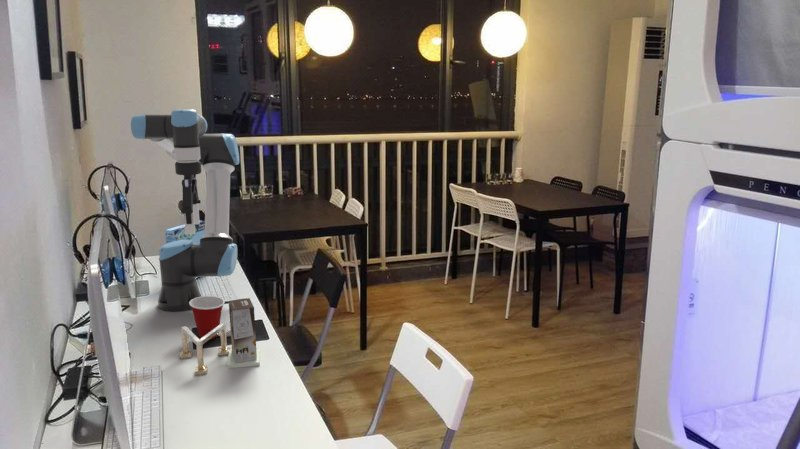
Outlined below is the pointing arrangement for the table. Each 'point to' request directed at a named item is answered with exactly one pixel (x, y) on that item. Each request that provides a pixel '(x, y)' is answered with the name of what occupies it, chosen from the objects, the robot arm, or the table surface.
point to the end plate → (232, 363)
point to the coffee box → (242, 330)
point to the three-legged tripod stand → (199, 342)
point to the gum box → (179, 234)
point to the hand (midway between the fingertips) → (192, 229)
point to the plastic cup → (207, 313)
